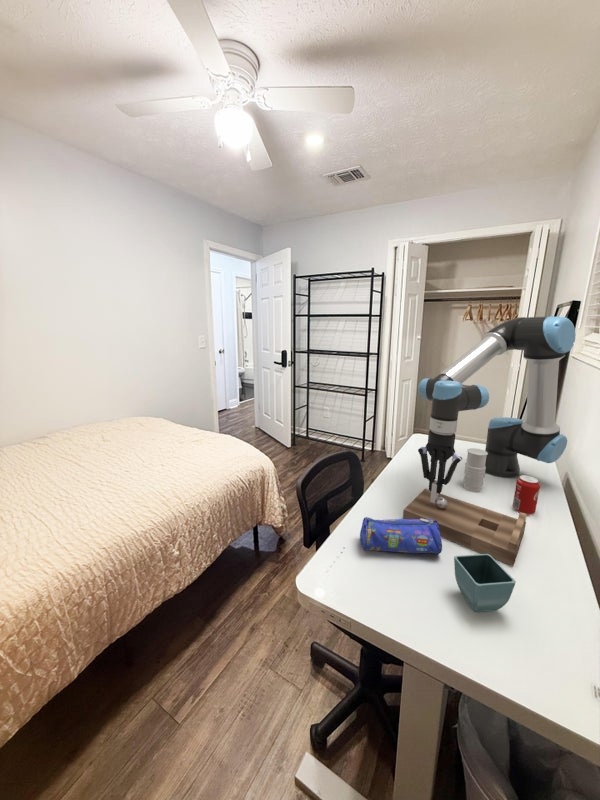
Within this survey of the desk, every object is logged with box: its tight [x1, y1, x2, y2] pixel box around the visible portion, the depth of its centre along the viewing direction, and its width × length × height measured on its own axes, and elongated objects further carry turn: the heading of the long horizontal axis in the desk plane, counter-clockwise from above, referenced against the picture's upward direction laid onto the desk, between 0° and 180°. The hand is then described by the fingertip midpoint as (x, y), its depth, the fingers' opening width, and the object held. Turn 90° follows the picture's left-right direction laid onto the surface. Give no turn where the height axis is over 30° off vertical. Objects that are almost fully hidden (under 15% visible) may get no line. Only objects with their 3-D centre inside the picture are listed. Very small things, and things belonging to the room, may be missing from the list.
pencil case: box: [359, 516, 443, 555], centre depth 88 cm, size 22×9×10 cm, turn 86°
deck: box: [402, 488, 527, 567], centre depth 98 cm, size 18×30×6 cm, turn 48°
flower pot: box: [453, 553, 517, 613], centre depth 71 cm, size 9×9×9 cm
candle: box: [463, 447, 488, 493], centre depth 120 cm, size 7×7×15 cm
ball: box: [436, 497, 448, 509], centre depth 101 cm, size 4×4×4 cm
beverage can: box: [512, 475, 541, 517], centre depth 105 cm, size 6×6×12 cm
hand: (433, 500), depth 103 cm, fingers closed
